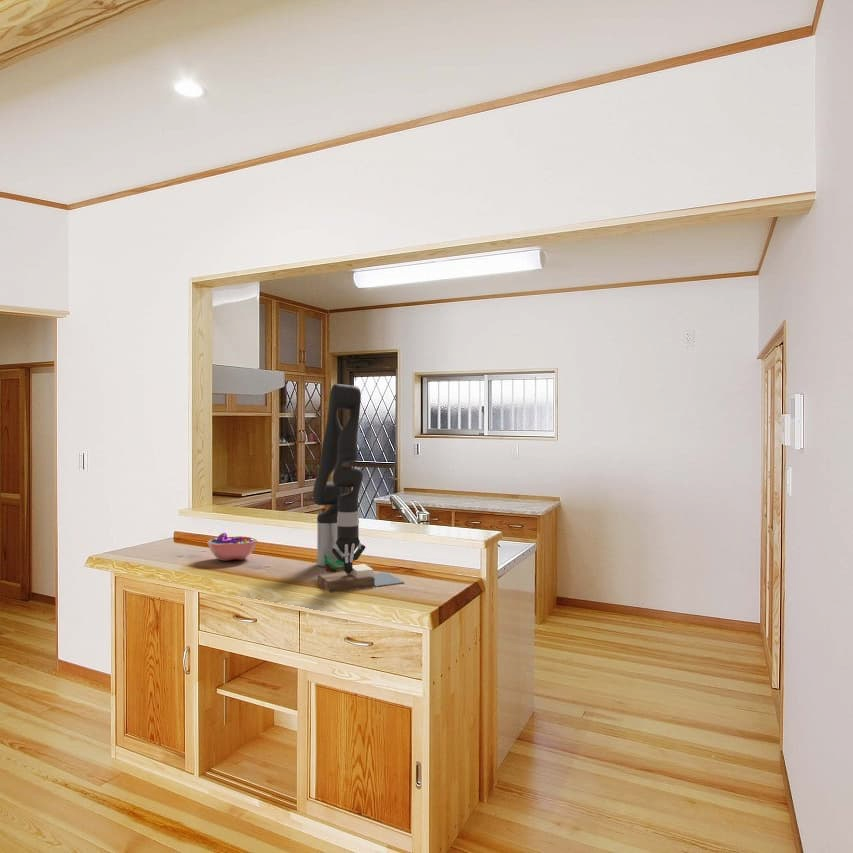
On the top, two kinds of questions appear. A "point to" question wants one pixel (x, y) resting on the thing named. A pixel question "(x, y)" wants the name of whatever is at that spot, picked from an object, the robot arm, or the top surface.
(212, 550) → the cell model
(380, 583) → the mat
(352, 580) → the brown wooden board
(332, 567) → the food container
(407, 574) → the top surface
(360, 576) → the tile
